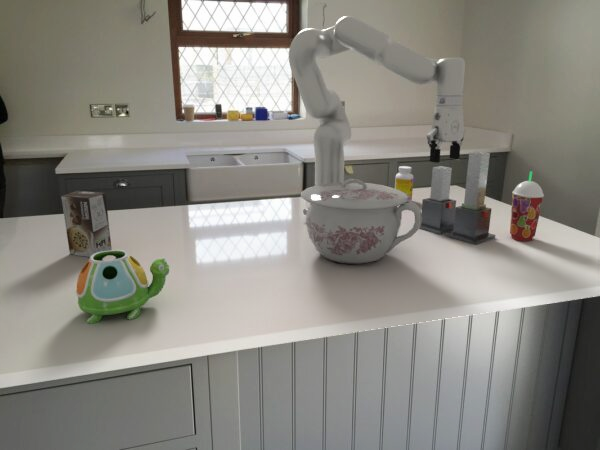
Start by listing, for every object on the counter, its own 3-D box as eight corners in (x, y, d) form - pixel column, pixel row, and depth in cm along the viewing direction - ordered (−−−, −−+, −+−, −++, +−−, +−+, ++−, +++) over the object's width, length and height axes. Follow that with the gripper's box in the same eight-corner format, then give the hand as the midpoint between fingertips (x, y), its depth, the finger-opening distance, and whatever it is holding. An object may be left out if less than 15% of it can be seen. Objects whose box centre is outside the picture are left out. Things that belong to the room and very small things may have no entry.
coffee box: (113, 250, 135) (106, 192, 130) (96, 258, 129) (89, 198, 124) (85, 246, 138) (78, 189, 133) (68, 254, 132) (60, 195, 127)
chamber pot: (284, 245, 140) (284, 172, 134) (369, 234, 150) (372, 166, 144) (329, 283, 115) (331, 195, 109) (427, 266, 126) (434, 185, 120)
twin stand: (475, 244, 142) (485, 156, 135) (445, 236, 149) (453, 152, 142) (494, 238, 148) (505, 153, 140) (465, 230, 155) (474, 149, 148)
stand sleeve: (440, 234, 151) (443, 205, 148) (414, 226, 158) (416, 199, 156) (459, 228, 157) (462, 200, 154) (433, 221, 164) (436, 194, 162)
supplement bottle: (411, 203, 188) (414, 169, 184) (393, 202, 189) (396, 168, 185) (411, 198, 194) (414, 166, 190) (394, 198, 195) (396, 165, 191)
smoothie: (537, 236, 150) (547, 170, 144) (537, 244, 142) (547, 175, 136) (507, 232, 153) (515, 168, 147) (505, 240, 146) (514, 172, 140)
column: (438, 227, 154) (444, 169, 149) (426, 223, 158) (430, 167, 152) (448, 224, 157) (453, 167, 152) (435, 221, 160) (440, 165, 155)
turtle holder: (177, 312, 100) (173, 257, 97) (79, 330, 93) (71, 271, 90) (166, 289, 111) (163, 238, 108) (78, 303, 104) (71, 249, 101)
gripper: (441, 103, 138) (437, 165, 143) (477, 101, 149) (472, 158, 153) (419, 102, 144) (416, 162, 149) (455, 100, 154) (451, 156, 159)
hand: (444, 160), depth 151 cm, fingers open, 9 cm apart
